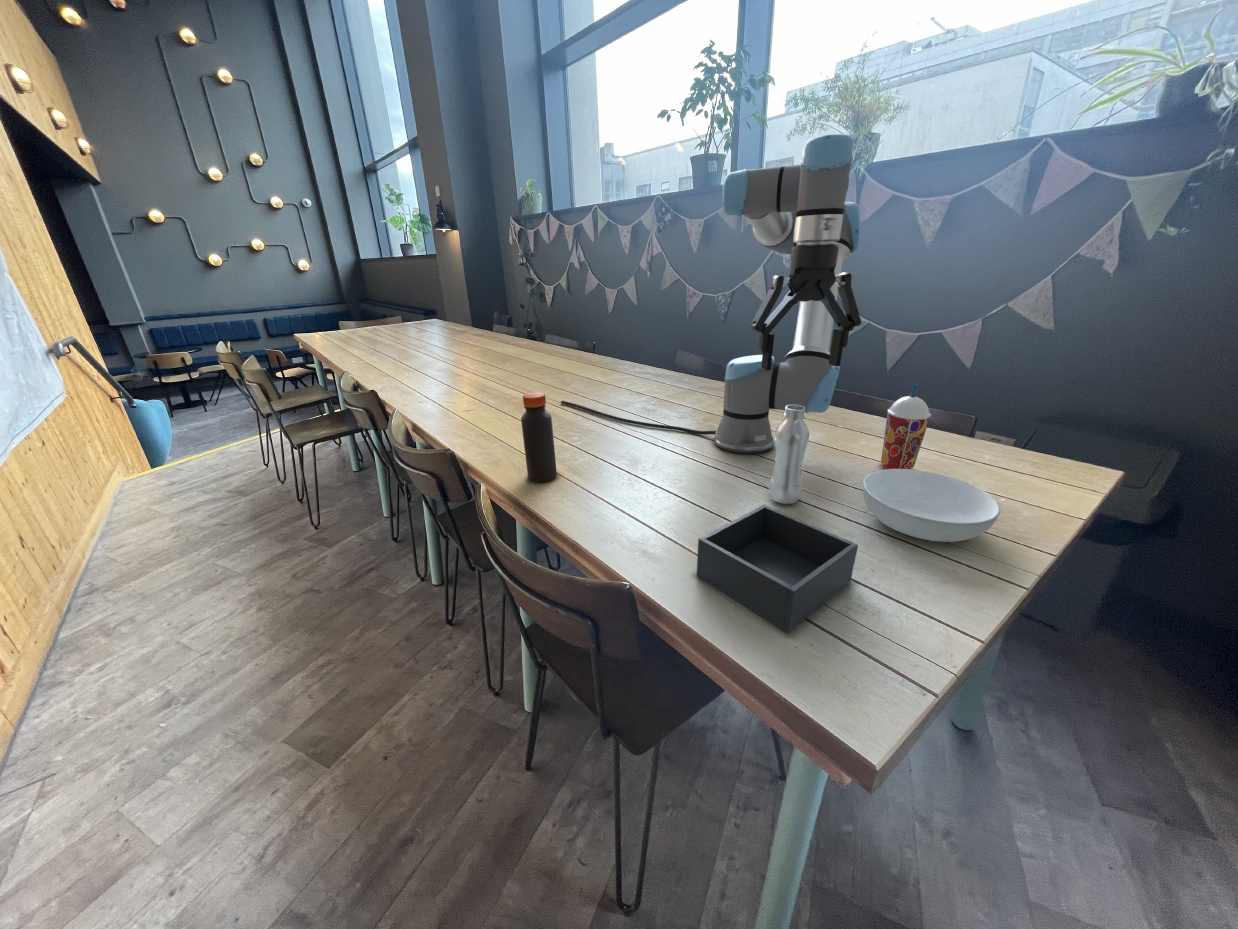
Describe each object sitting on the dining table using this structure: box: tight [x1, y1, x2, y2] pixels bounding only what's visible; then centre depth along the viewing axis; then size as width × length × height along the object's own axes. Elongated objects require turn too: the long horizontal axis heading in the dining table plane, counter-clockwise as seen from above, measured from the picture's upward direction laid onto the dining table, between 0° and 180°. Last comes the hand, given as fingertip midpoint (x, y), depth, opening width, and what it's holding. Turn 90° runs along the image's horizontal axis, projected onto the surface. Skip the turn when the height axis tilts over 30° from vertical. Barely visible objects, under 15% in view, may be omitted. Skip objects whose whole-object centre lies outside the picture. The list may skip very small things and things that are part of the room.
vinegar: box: [520, 391, 558, 484], centre depth 107 cm, size 7×7×20 cm
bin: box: [696, 504, 859, 634], centre depth 72 cm, size 17×17×7 cm
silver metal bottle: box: [768, 405, 810, 505], centre depth 93 cm, size 6×7×20 cm
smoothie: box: [880, 383, 932, 470], centre depth 106 cm, size 8×8×20 cm
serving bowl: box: [862, 468, 1001, 543], centre depth 85 cm, size 21×21×7 cm
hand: (800, 367), depth 89 cm, fingers open, 13 cm apart
